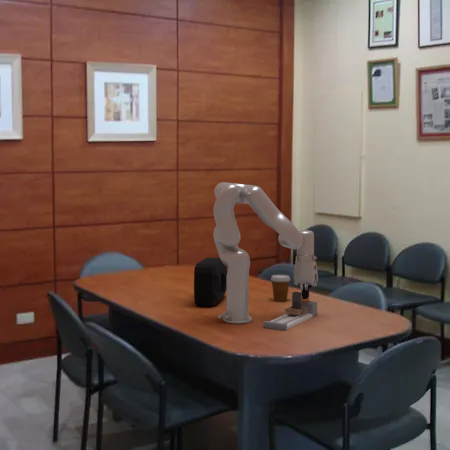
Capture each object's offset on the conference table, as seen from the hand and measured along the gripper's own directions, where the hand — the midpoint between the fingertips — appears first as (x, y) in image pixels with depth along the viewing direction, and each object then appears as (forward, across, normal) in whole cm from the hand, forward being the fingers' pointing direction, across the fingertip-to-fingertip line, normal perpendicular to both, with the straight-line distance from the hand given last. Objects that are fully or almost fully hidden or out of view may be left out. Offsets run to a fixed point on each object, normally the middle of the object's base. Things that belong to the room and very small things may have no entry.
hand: (305, 298), depth 319 cm
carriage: (+5, 0, +8) cm, 10 cm away
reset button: (+2, 0, 0) cm, 3 cm away
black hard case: (+7, +50, -2) cm, 51 cm away
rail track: (+7, 0, +14) cm, 16 cm away
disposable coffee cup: (+8, +23, -21) cm, 32 cm away
